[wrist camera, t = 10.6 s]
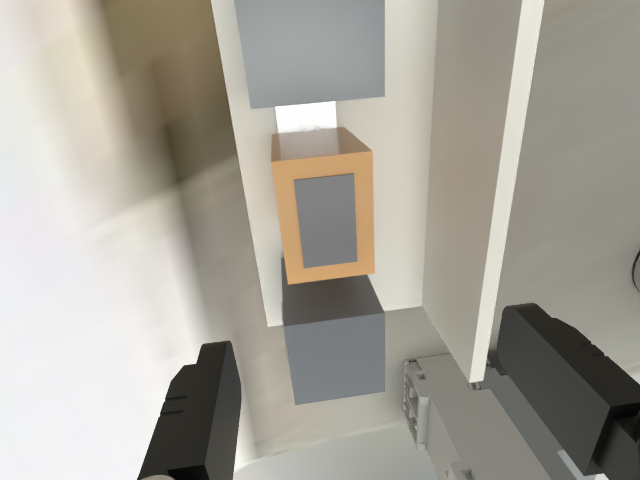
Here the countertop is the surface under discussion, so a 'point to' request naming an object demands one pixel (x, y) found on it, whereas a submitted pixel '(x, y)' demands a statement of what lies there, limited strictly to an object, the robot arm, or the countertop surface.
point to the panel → (417, 159)
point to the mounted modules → (306, 88)
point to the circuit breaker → (479, 425)
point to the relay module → (324, 203)
